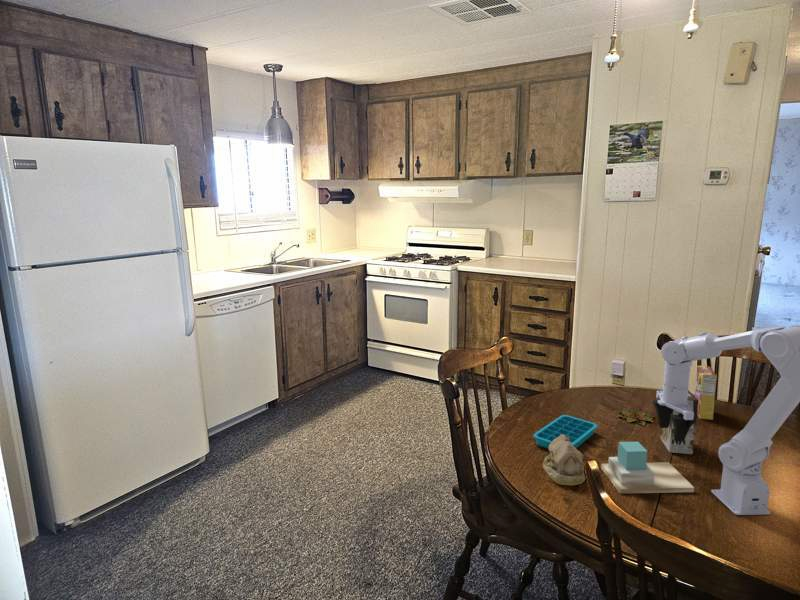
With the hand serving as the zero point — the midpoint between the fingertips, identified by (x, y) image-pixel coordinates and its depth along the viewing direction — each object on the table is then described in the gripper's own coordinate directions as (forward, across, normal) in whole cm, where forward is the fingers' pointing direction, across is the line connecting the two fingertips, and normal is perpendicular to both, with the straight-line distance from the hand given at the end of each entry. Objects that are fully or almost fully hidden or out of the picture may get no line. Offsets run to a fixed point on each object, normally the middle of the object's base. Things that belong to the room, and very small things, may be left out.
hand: (671, 433), depth 133 cm
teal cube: (+5, +6, -13) cm, 15 cm away
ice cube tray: (+10, -17, -22) cm, 30 cm away
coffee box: (+10, -11, +8) cm, 17 cm away
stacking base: (+9, +6, -9) cm, 14 cm away
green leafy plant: (+10, -30, +5) cm, 32 cm away
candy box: (+10, -32, +28) cm, 44 cm away
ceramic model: (+10, +1, -28) cm, 30 cm away
